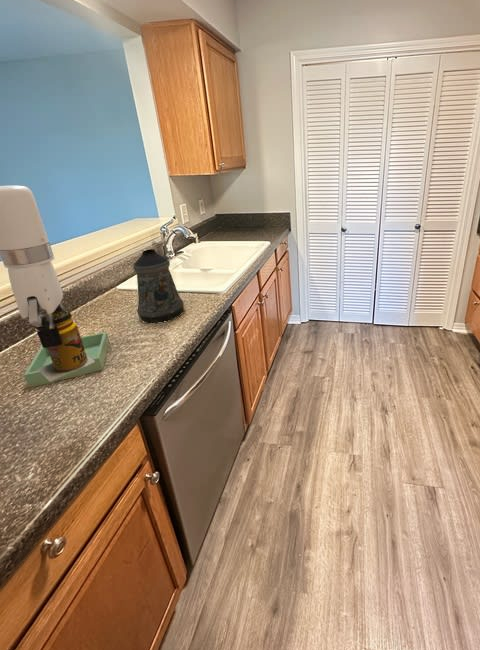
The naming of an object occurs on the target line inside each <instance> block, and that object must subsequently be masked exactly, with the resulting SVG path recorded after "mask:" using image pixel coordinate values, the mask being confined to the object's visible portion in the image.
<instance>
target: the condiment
mask: <svg viewBox="0 0 480 650" xmlns="http://www.w3.org/2000/svg"><path fill="white" fill-rule="evenodd" d="M52 317H53V322H54V327H55V326H57V328H58V331H59V334H60V337H61V339H62V344H61V345H58V346H53V347H48V348H47V349H48V352H49V355H50V357H51V360H52V362H53V363H51V364H48V365H46V366H42V367H40V368H38V370H39V371H40V372H41V373H42V374H43V375H44V376H45V377H46V378H47V379H48V380H49V381H50V382H51V383H53V382H52V381H54V380H56V379H58V378H60V377H62V376H65V375H67V374H69V373H71V372H74V371H76V370H79V369H81V368H83V367H85V366H87V365H90V364H92V363H94V362H95V361H94V360H92V359H91V358H90V357H88V356H87V355H86V352H85V348H84V346H83V342H82V339H81V337H82V336H81V334H80V331H79V326H78V324H77V323H76V321H74V318H73V316H72V313H71V312H70V311H69V310H65V311H64V310H61V311H55V312H53V313H52ZM40 318H41V319H42V320H46V321H47V322H48V320H47V316H46V317H40Z"/></svg>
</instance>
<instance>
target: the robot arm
mask: <svg viewBox="0 0 480 650" xmlns="http://www.w3.org/2000/svg"><path fill="white" fill-rule="evenodd" d="M34 195H35V194H34V192H33V191H32V190H31V189H30V188H29V187H28V186H25V185H19V184H18V185H15V184H14V185H0V258H1V261H2V264H3V266H4V268H6V269H7V273H8V278H9V279H8V280H9V283H10V286H11V290H12V295H13V297H14V301H15V302H16V305H17V309H18V311H19V314H20V317H21V318H22V319H24V320H26V319H28V322H29V324H30V325H31V326H32V327H33V328H34V330H35V332H36V333H37V336H38V339H39V341H40V344H41V346H43V348H48V347H53V346H58V345H61V344H62V339H61V337H60V334H59V331H58V328H57V326H55V327H54V322H53V317H52V313H53V312H55V311H61V310H64V311H66V310H65V306H64V304H63V303H62V302H63V298H64V295H63V294H64V293H63V289H62V285H61V283H60V280H59V278H58V274H57V272H56V269H55V267H54V265H53V262H52V261H54V259H55V255H54V252H53V250H52V246H51V244H50V241H49V237H48V234H47V230H46V228H45V225H44V222H43V219H42V216H41V212H40V210H39V207H38V204H37V201H36V198H35V196H34ZM43 311H46V312H45V313H40V312H43ZM46 316H47V320H48V322H47V321H46V320H42V319H41V317H46Z"/></svg>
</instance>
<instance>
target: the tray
mask: <svg viewBox="0 0 480 650" xmlns="http://www.w3.org/2000/svg"><path fill="white" fill-rule="evenodd" d="M80 337H81V339H82V342H83V346H84V348H85V352H86V355H87V356H88V357H90V358H91V359H92V360H94V361H95V362H94V363H92V364H90V365H87V366H85V367H83V368H81V369H79V370H76V371H74V372H71V373H69V374H67V375H65V376H62V377H60V378H58V379H56V380H54V381H52V382H50V381H49V380H48V379H47V378H46V377H45V376H44V375H43V374H42V373H41V372H40V371H39V370H38V368H40V367H42V366H46V365H48V364H51V363H53V362H52V360H51V357H50V355H49V352H48V349H47V348H43V346H42V345H41V346H40V348H39V349H38V351H37V353H36V354H35V355H34V357H33V359H32V361H31V362H30V363H29V366H28V367H27V369H26V371H25V372H24V374H23V377H24V378H23V379H24V380H25V382H26V384H27V387H28V388H34V387H38V386H42V385H46V384H50V383H54V382H59V381H63V380H67V379H70V378H75V377H79V376H84V375H88V374H91V373H96V372H100V371H103V370H104V366H105V363H106V359H107V355H108V350H109V347H108V346H110V343H109V342H110V338H109V336H108V333H107V331H103V332H98V333H94V334H89V335H83V336H80Z"/></svg>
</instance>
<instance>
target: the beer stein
mask: <svg viewBox="0 0 480 650" xmlns="http://www.w3.org/2000/svg"><path fill="white" fill-rule="evenodd" d="M170 264H171V261H170V260H169V259H168V258H166V257H165V256H163V255H161V254H159V253H158V252H157V251H156V250H155V249H152V248H151V249H149V248H148V249H146V250H143V251H142V252H141V256H139V258H138V259H137V260H136V261H135V262H134V264H133V267H132V268H133V270H134V272H135V274H136V282H137V283H136V284H137V297H138V300H137V301H138V303H137V310H136V312H137V315H138V317H139V319H140V321H141V320H142V321H141V322H143V321H144V322H147V323H146V324H150V323H155V324H159V323H158V322H163V323H165V322H164V321H167V322H169V321H168V320H171V321H173V320H174V319H173V318H175V317H177V316H179V315H180V314H181V313H182V312H183V313H184V305H185V303H184V300H183V299H182V297H181V296H180V294H179V292H178V290H177V286H176V284H175V282H174V279H173V275H172V274H171V271H170ZM183 313H182V314H183ZM182 314H181V315H182ZM181 315H180V316H181ZM180 316H179V317H180ZM177 318H178V317H177ZM172 319H173V320H172ZM175 319H176V318H175ZM144 322H143V323H144Z"/></svg>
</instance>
